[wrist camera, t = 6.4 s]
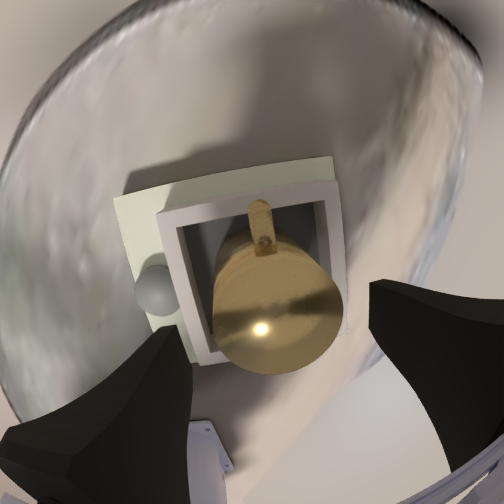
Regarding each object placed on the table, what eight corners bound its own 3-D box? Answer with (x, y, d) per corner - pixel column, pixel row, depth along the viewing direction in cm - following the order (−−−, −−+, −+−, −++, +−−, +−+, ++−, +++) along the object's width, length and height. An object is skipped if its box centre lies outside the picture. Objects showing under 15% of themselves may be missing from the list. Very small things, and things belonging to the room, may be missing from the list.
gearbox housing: (337, 319, 19) (357, 346, 16) (169, 353, 18) (162, 385, 15) (322, 156, 16) (347, 154, 12) (121, 195, 15) (98, 203, 12)
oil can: (305, 297, 16) (344, 357, 11) (224, 314, 16) (228, 384, 10) (290, 181, 14) (334, 190, 9) (198, 198, 14) (183, 217, 8)
